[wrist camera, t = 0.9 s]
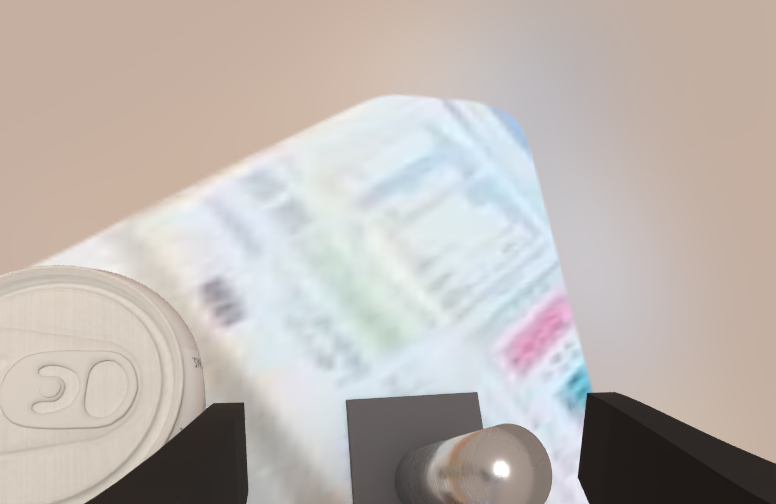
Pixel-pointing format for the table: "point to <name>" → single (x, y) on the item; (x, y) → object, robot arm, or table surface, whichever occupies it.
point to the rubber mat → (400, 436)
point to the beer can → (87, 381)
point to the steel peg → (477, 469)
